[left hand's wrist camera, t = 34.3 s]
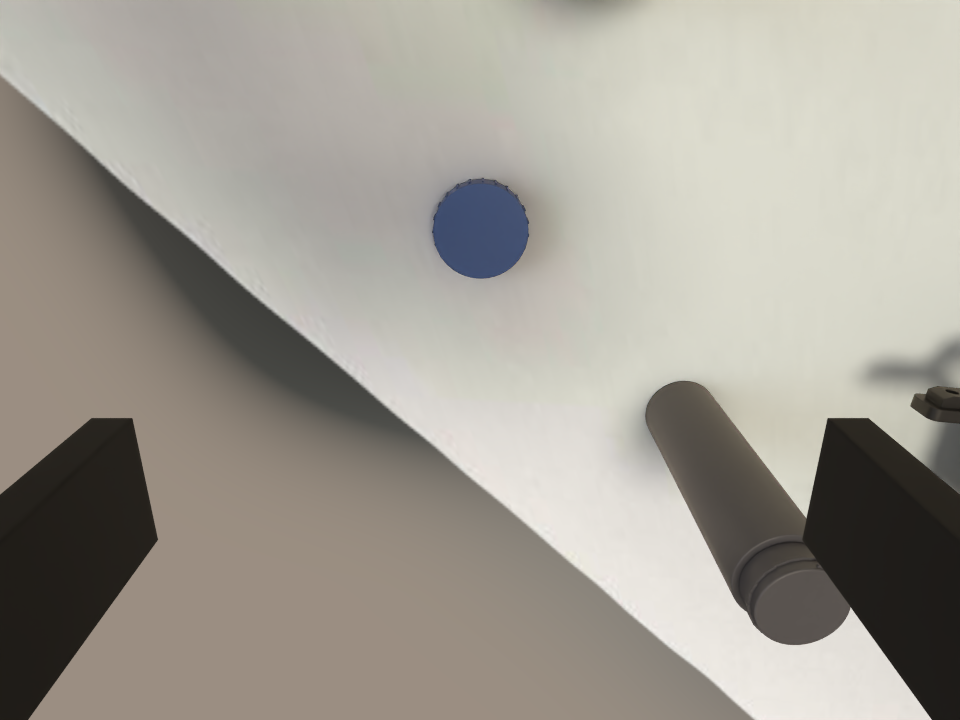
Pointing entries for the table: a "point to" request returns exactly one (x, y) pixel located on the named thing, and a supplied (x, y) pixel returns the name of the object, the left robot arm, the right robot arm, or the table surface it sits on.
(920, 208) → the table surface
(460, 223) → the lid
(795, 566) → the jar
